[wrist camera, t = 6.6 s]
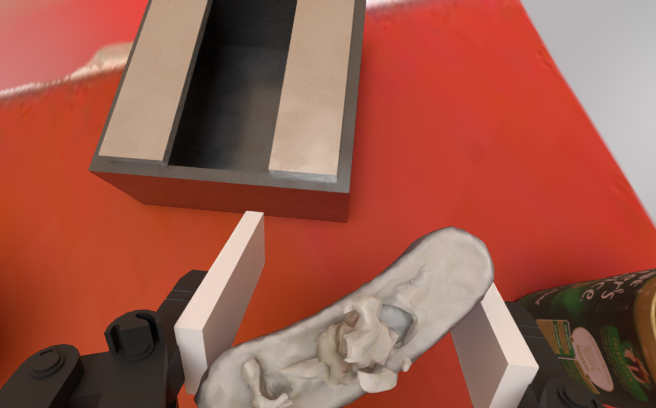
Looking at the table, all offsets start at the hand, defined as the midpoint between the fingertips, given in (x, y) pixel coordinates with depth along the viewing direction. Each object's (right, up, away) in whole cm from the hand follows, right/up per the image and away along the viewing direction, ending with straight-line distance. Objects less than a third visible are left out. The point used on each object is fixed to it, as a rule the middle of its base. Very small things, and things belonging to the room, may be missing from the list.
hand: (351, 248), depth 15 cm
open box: (-8, +10, +21) cm, 25 cm away
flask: (0, -4, +3) cm, 5 cm away
